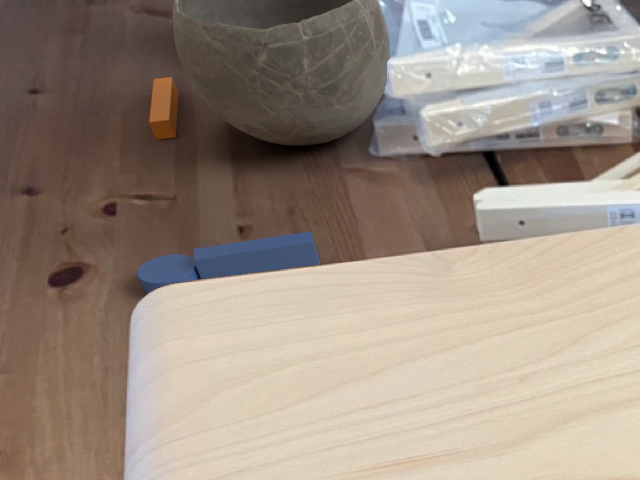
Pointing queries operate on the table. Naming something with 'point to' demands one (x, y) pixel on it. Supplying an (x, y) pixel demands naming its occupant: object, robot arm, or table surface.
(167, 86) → the block
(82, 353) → the table surface
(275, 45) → the bowl
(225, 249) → the blue block
